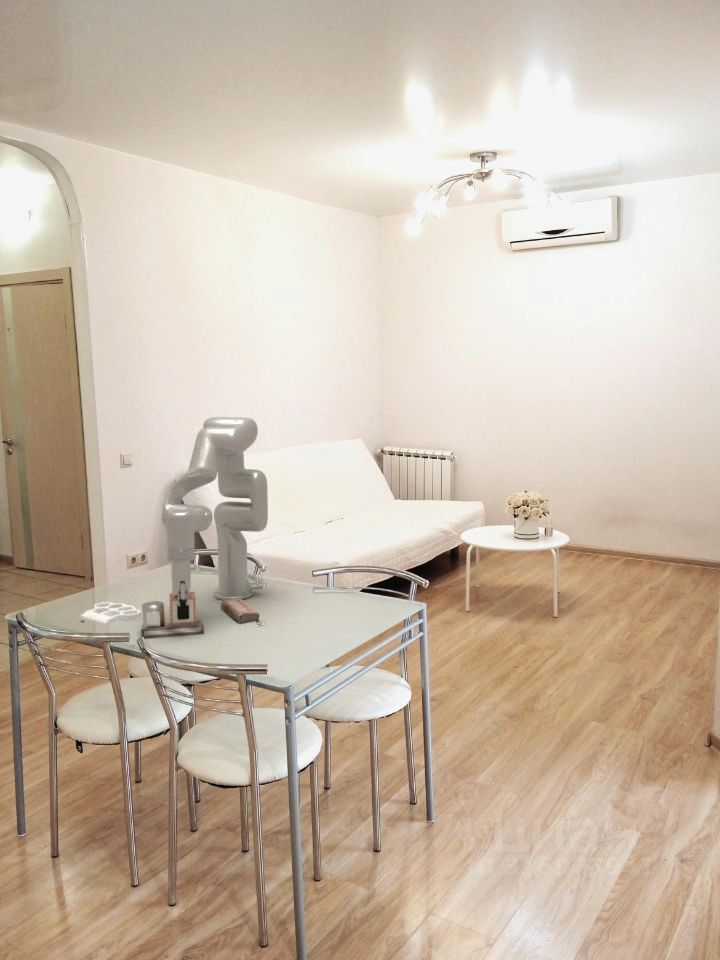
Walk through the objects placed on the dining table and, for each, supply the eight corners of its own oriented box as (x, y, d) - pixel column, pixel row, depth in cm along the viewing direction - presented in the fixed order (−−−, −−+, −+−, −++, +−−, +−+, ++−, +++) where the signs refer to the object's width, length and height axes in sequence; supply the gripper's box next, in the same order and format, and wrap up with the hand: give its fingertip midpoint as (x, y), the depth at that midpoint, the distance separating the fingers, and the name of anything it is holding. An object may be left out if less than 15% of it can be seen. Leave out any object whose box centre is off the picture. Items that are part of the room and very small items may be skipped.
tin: (165, 627, 233) (164, 600, 232) (165, 634, 227) (163, 606, 226) (144, 629, 232) (142, 602, 230) (143, 636, 226) (141, 608, 225)
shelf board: (201, 624, 239) (201, 612, 239) (204, 637, 228) (203, 625, 227) (142, 628, 235) (141, 616, 235) (141, 642, 224) (141, 630, 223)
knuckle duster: (74, 621, 244) (113, 608, 256) (113, 632, 234) (152, 619, 245) (73, 610, 243) (113, 598, 255) (112, 621, 233) (151, 608, 245)
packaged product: (214, 599, 249) (245, 595, 254) (214, 614, 250) (245, 610, 255) (233, 616, 233) (266, 611, 238) (234, 632, 234) (266, 627, 239)
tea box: (195, 621, 234) (194, 591, 233) (196, 627, 229) (195, 596, 228) (170, 623, 232) (169, 593, 231) (170, 629, 227) (169, 598, 226)
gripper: (166, 547, 235) (168, 608, 237) (167, 561, 218) (170, 626, 221) (193, 546, 237) (195, 606, 239) (196, 560, 220) (198, 624, 223)
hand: (183, 615), depth 230 cm, fingers closed on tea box, 5 cm apart
